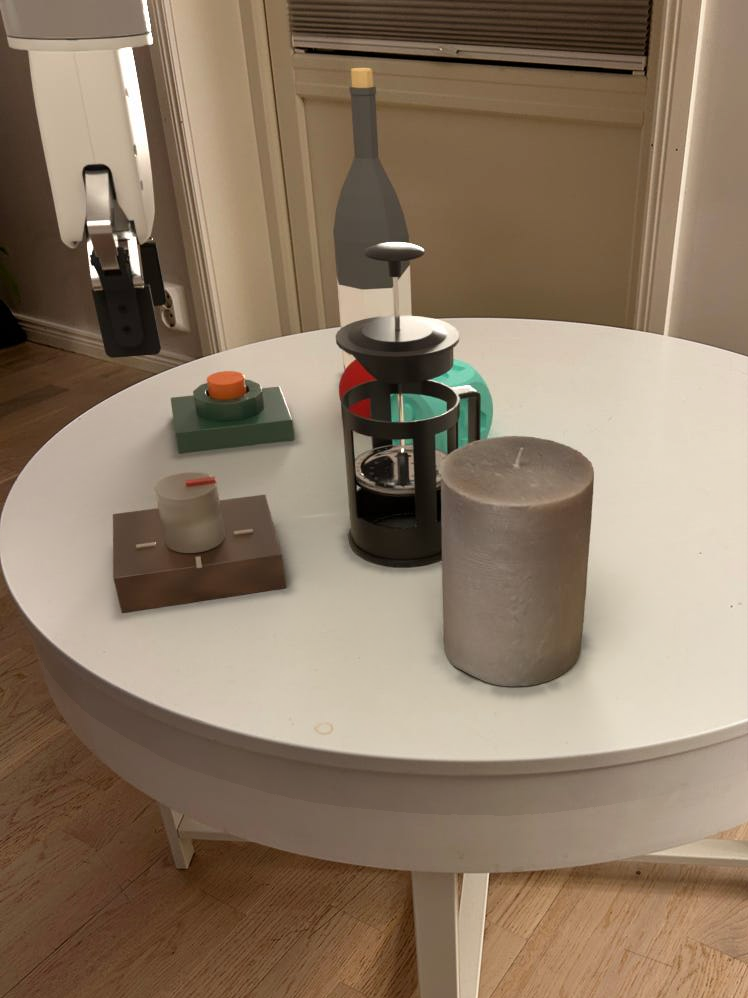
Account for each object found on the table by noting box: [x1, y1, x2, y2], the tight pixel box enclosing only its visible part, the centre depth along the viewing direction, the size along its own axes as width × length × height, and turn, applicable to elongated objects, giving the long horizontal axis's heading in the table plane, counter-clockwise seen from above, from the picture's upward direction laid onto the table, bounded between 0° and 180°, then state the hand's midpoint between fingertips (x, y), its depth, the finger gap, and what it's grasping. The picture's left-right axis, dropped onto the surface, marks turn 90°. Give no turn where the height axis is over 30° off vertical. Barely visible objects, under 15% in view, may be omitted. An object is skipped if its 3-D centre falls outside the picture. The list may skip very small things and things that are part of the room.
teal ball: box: [390, 358, 494, 453], centre depth 93 cm, size 8×8×8 cm
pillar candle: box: [439, 435, 595, 687], centre depth 65 cm, size 10×10×15 cm
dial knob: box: [154, 471, 225, 553], centre depth 74 cm, size 4×4×5 cm
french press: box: [335, 242, 481, 568], centre depth 75 cm, size 12×9×23 cm
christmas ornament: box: [338, 359, 376, 419], centre depth 97 cm, size 7×7×10 cm
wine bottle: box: [332, 67, 413, 371], centre depth 102 cm, size 8×8×30 cm
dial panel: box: [112, 494, 287, 613], centre depth 77 cm, size 12×10×3 cm
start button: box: [206, 370, 247, 399], centre depth 97 cm, size 4×4×2 cm
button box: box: [170, 379, 295, 455], centre depth 98 cm, size 11×9×4 cm
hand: (139, 328), depth 64 cm, fingers open, 9 cm apart
